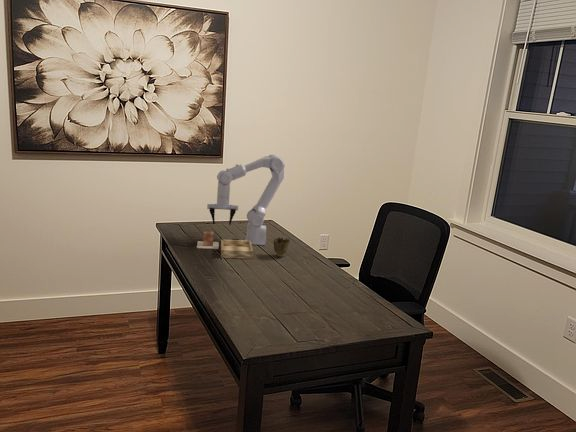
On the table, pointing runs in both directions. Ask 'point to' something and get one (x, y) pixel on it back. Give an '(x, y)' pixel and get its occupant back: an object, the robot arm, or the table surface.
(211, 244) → the terracotta block
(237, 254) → the organiser box
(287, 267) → the table surface
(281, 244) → the cup
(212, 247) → the grey mat
